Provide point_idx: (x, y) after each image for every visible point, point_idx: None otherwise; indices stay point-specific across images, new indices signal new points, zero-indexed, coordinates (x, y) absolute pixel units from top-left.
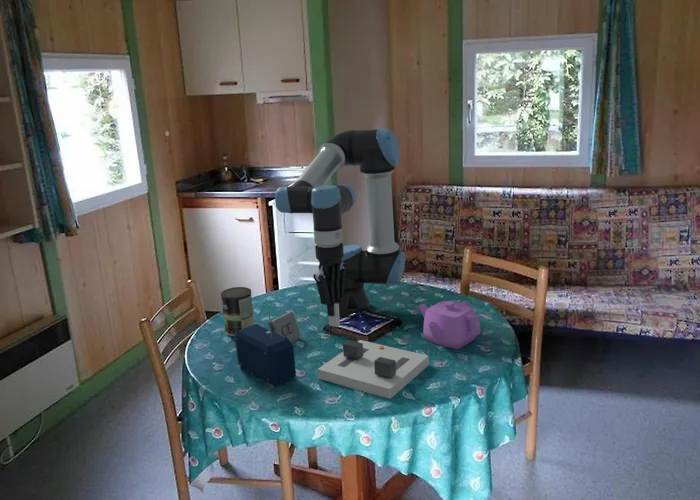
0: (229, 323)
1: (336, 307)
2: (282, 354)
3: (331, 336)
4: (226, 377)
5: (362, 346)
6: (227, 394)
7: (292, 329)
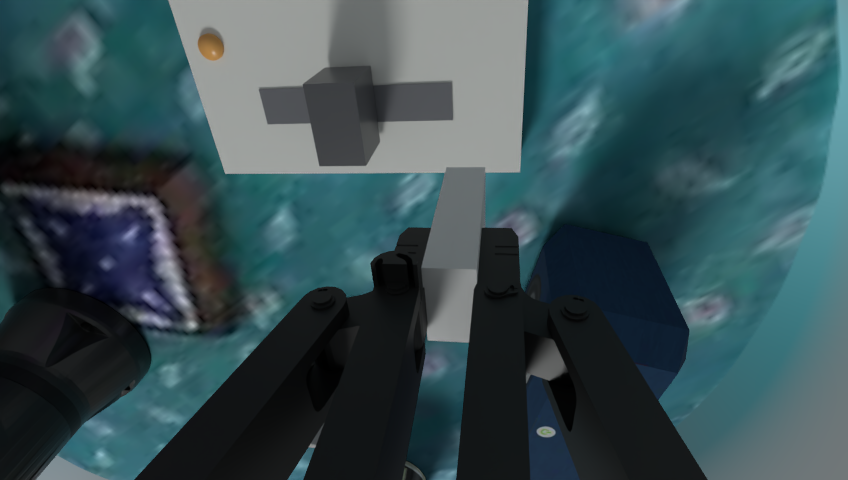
0: None
1: (464, 251)
2: (641, 305)
3: (251, 287)
4: None
5: (311, 80)
6: (734, 335)
7: None
